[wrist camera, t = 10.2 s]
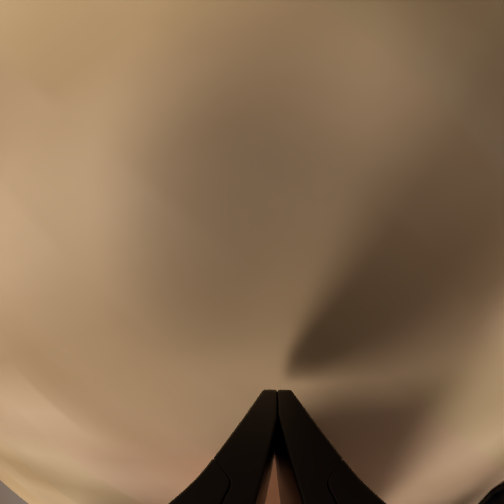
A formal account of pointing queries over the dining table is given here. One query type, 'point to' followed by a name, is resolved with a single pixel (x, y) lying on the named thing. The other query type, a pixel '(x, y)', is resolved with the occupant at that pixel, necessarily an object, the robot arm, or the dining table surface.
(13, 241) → the dining table surface
